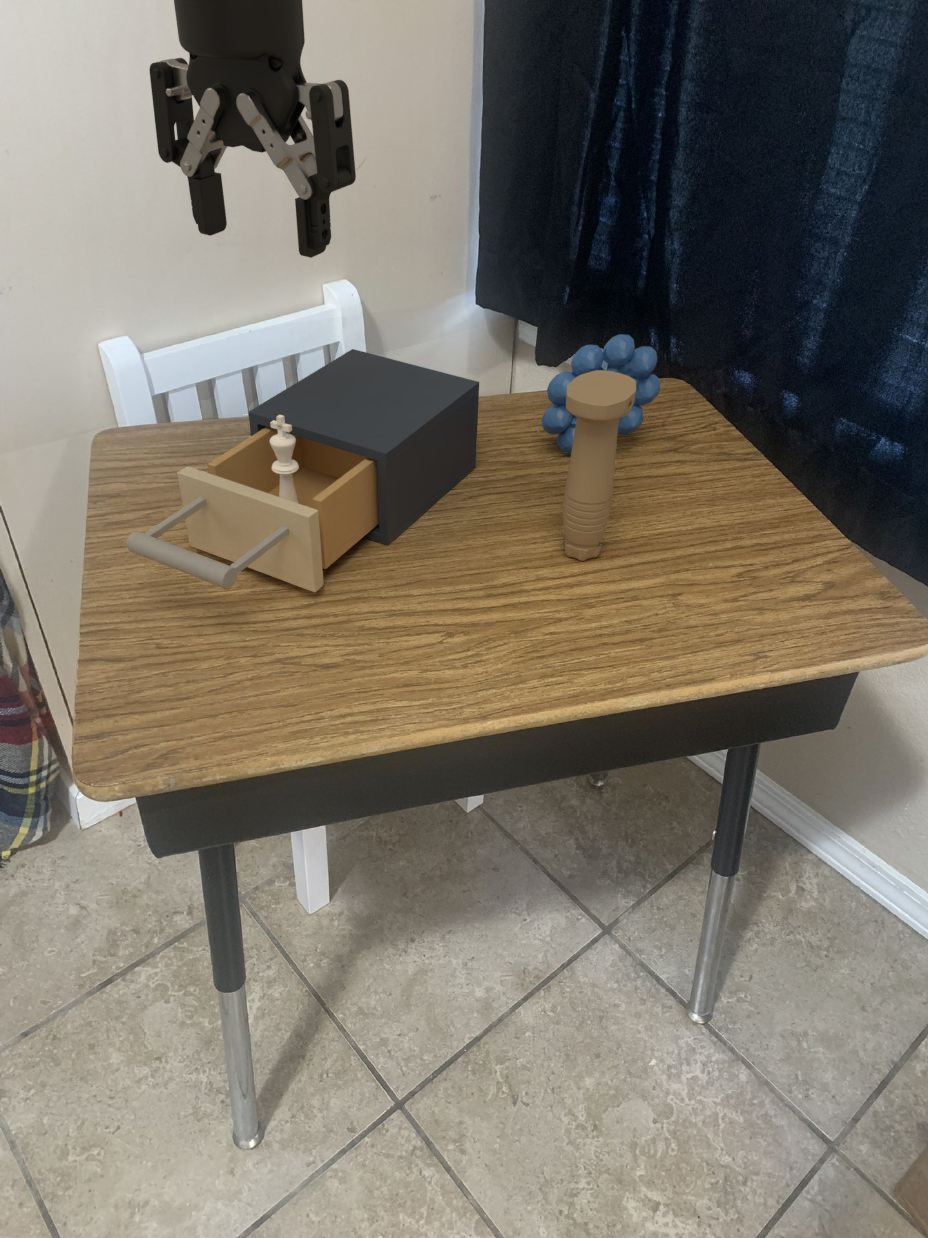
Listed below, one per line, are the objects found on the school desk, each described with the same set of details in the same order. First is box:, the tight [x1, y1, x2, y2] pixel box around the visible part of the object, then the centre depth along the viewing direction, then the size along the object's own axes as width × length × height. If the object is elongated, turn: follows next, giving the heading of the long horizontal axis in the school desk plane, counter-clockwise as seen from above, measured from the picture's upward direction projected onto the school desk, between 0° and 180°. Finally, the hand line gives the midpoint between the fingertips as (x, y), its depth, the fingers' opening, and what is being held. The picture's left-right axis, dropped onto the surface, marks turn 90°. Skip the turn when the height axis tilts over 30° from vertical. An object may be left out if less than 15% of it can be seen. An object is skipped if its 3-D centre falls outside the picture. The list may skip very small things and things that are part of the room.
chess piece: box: [270, 415, 308, 507], centre depth 78 cm, size 5×5×10 cm
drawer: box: [126, 427, 379, 593], centre depth 78 cm, size 22×13×7 cm, turn 151°
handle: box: [562, 370, 636, 562], centre depth 79 cm, size 5×6×15 cm
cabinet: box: [247, 348, 480, 546], centre depth 88 cm, size 16×14×9 cm
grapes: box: [541, 333, 661, 454], centre depth 94 cm, size 12×7×12 cm, turn 103°
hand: (261, 242), depth 67 cm, fingers open, 8 cm apart
